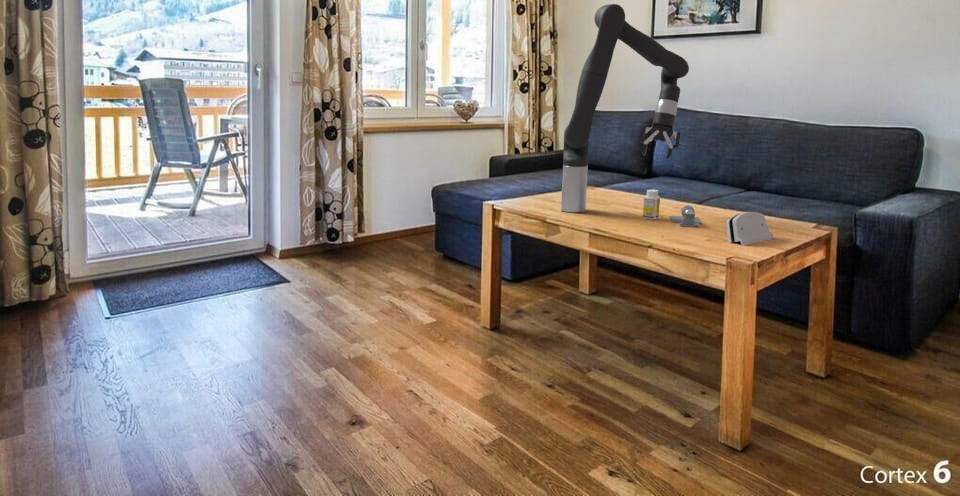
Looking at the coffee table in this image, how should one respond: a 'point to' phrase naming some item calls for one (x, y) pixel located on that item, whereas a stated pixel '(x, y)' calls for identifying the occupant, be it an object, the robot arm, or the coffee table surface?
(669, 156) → the robot arm
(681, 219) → the plate
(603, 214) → the coffee table surface
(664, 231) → the coffee table surface
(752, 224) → the grey rounded slab
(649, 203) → the supplement bottle
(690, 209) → the shaft stub
